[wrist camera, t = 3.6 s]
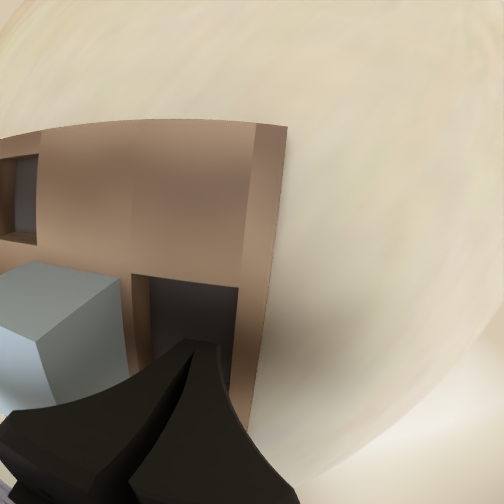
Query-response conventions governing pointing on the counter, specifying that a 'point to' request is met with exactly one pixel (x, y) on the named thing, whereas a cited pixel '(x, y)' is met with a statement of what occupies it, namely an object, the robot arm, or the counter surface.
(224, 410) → the robot arm
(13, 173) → the board
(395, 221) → the counter surface
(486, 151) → the counter surface
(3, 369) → the blue block
